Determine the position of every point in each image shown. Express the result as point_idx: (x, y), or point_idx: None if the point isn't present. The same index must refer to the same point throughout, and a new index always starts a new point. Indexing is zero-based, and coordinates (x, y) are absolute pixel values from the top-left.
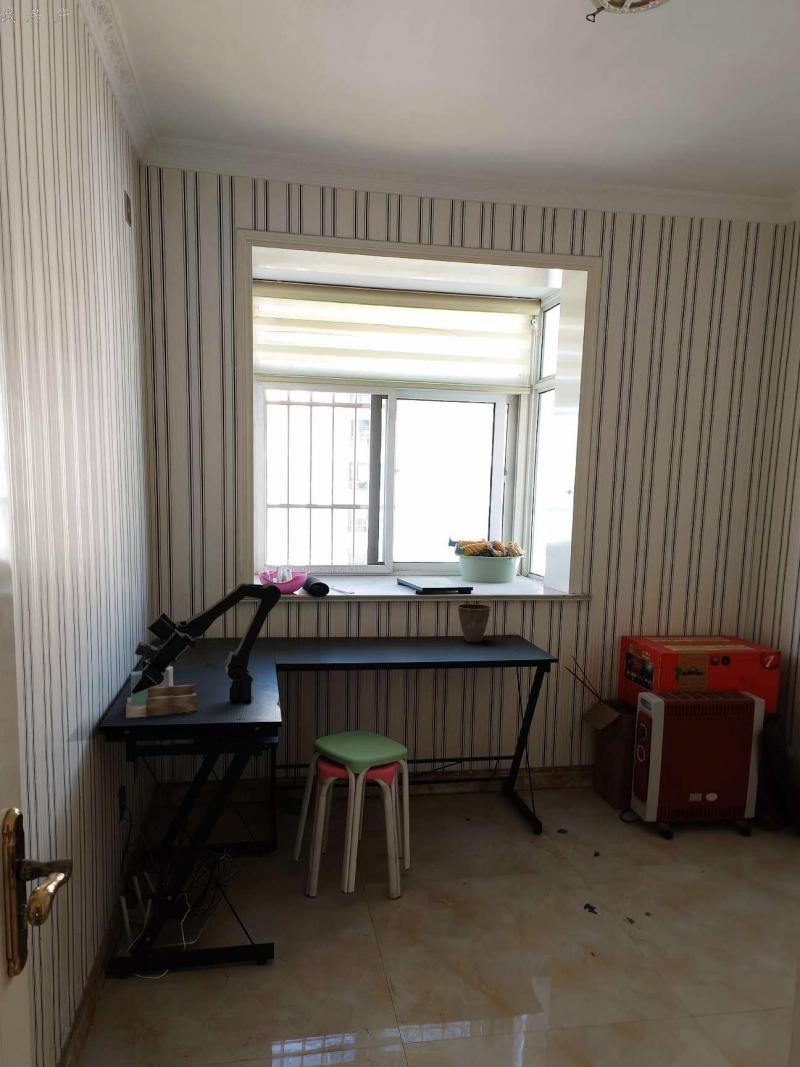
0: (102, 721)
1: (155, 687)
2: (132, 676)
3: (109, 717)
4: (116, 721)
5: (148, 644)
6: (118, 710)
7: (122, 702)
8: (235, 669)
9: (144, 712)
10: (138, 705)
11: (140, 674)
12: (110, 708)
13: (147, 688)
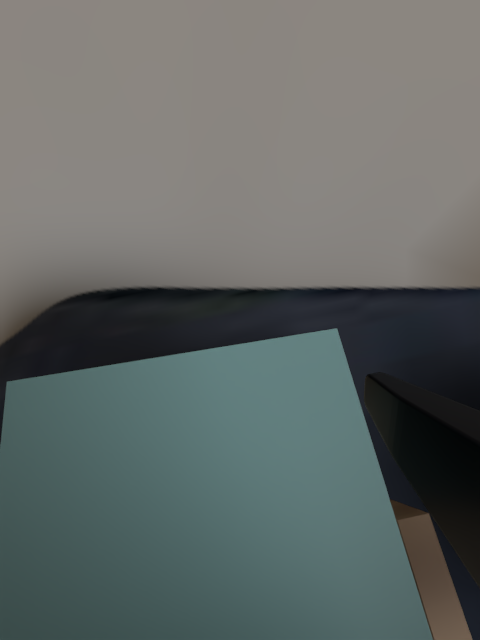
0: (76, 299)
1: (464, 625)
2: (13, 415)
3: (133, 318)
4: (51, 368)
5: None
6: (245, 338)
7: (387, 330)
8: None
9: None
10: None
11: (48, 625)
12: (284, 292)
13: (417, 527)
